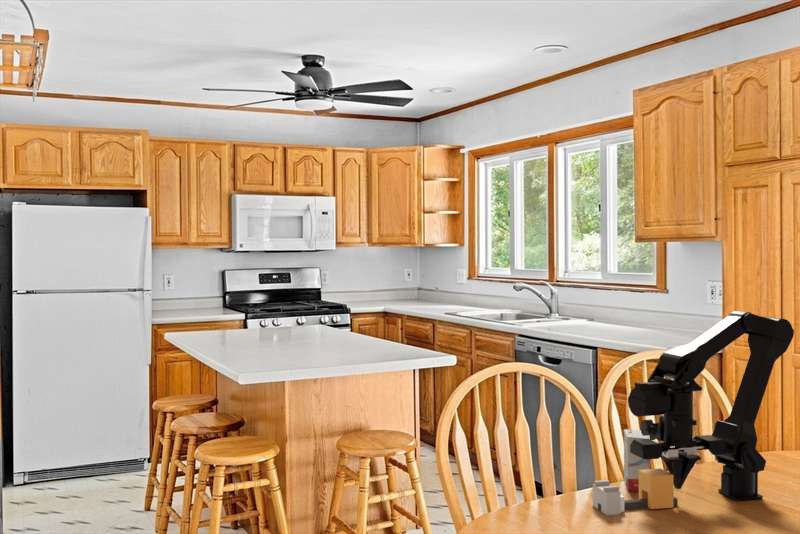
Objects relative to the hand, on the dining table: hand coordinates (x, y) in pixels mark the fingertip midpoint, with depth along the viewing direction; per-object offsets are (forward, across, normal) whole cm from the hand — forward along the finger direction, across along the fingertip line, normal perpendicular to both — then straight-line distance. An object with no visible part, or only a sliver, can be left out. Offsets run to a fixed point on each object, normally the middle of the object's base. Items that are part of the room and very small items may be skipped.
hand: (677, 488), depth 158 cm
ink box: (+4, +2, -13) cm, 14 cm away
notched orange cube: (+3, +5, 0) cm, 6 cm away
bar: (+3, +9, 0) cm, 10 cm away
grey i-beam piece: (+3, +16, 0) cm, 16 cm away
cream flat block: (+3, +14, 0) cm, 14 cm away
